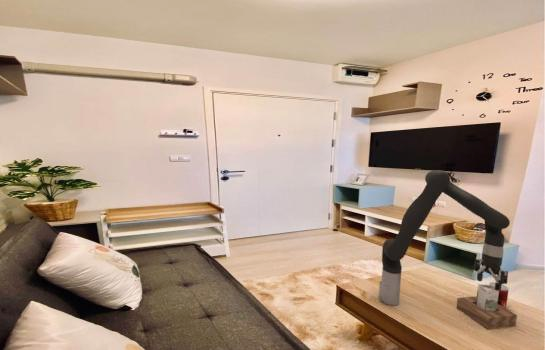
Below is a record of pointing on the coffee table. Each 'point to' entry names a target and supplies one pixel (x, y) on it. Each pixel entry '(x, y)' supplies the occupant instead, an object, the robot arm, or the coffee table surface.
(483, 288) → the syrup box
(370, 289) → the coffee table surface
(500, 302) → the canned food
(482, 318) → the hollow square frame
